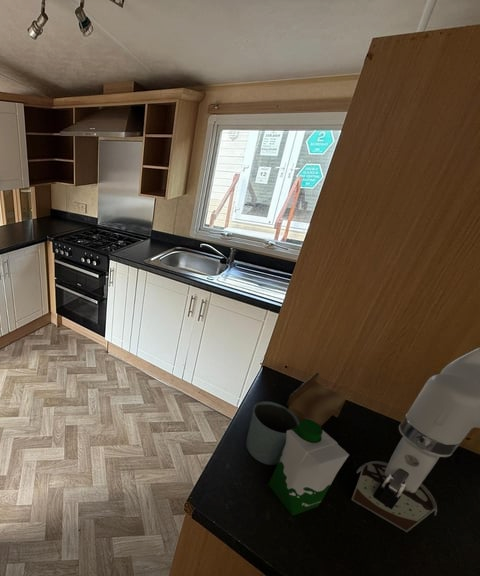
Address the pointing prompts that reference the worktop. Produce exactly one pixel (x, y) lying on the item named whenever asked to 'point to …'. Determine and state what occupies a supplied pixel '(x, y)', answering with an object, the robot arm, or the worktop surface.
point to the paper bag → (315, 402)
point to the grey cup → (269, 431)
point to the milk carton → (306, 467)
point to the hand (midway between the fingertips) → (389, 489)
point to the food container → (408, 506)
